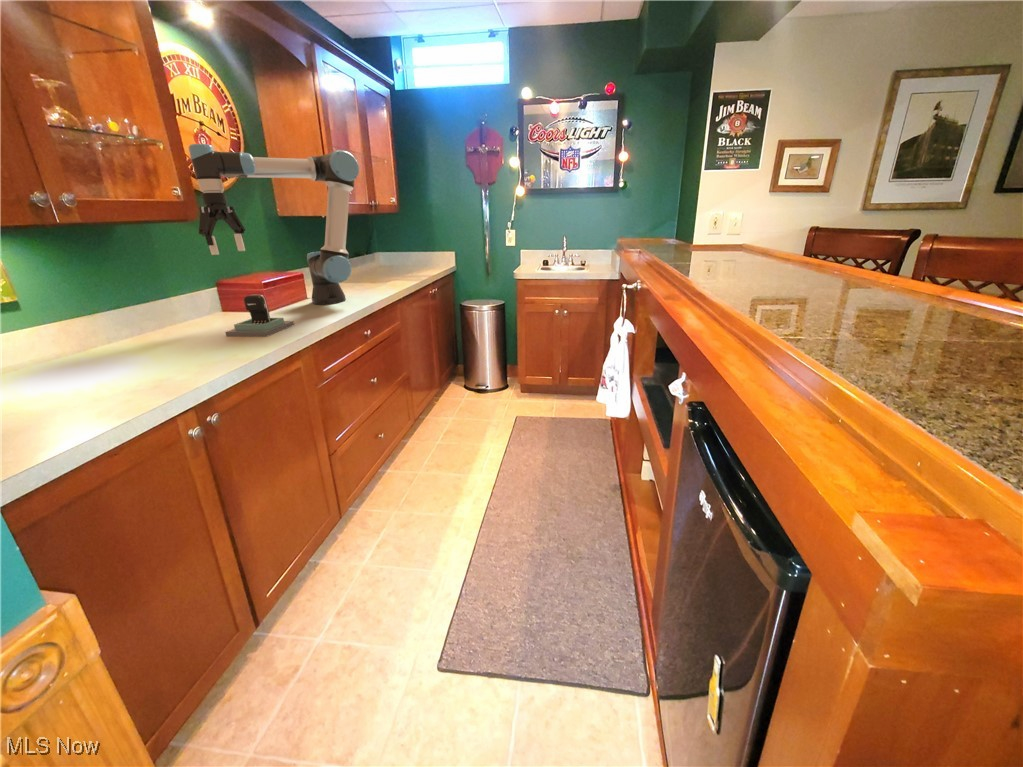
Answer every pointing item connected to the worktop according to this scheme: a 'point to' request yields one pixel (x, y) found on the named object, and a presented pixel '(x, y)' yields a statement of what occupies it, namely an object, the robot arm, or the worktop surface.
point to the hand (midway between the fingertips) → (229, 252)
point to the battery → (257, 309)
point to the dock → (259, 328)
